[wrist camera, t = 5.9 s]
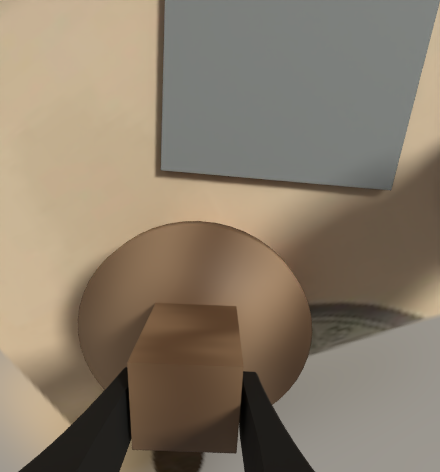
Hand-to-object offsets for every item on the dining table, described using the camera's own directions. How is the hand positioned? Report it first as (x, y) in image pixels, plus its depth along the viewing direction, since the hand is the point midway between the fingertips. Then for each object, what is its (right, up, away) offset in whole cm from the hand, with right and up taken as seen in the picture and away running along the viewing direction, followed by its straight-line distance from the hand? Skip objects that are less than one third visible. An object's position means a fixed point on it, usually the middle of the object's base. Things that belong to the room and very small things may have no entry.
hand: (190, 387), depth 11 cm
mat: (+5, +17, +3) cm, 18 cm away
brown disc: (0, +2, +3) cm, 3 cm away
